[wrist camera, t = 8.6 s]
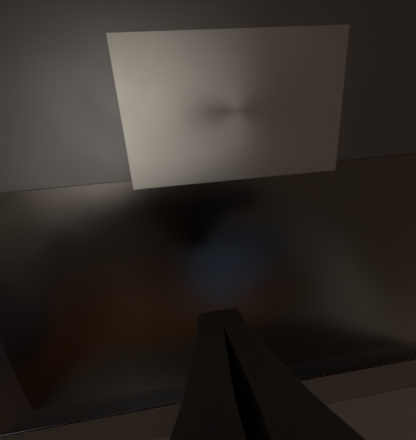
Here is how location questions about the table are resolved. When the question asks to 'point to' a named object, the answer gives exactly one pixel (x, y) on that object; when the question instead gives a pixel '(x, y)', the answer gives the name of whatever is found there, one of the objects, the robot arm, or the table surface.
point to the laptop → (200, 192)
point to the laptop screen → (320, 386)
